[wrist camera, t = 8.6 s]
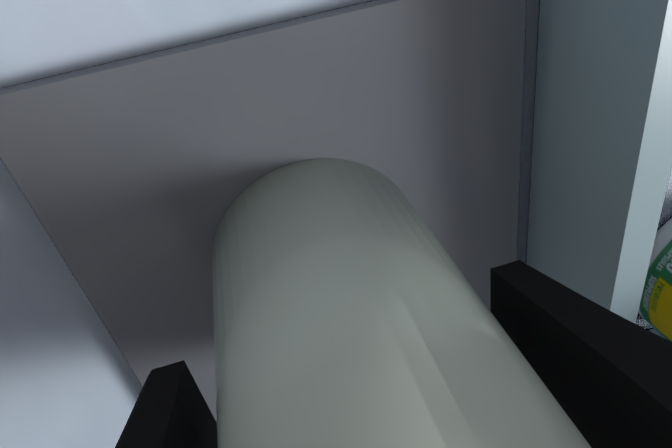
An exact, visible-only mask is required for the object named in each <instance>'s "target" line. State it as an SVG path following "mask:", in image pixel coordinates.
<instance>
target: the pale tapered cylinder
mask: <svg viewBox="0 0 672 448" xmlns="http://www.w3.org/2000/svg"><path fill="white" fill-rule="evenodd" d="M212 279H213V313H214V346H215V380H216V413H217V447H218V448H591V446H590V445H589V444H588V442H587V441H586V439H585V438H584V437H583V435H582V434H581V433H580V431H579V430H578V429H577V427H576V426H575V425H574V423H573V422H572V421H571V419H570V418H569V417H568V415H567V414H566V413H565V411H564V410H563V408H562V407H561V406H560V404H559V403H558V402H557V400H556V399H555V398H554V396H553V395H552V394H551V392H550V391H549V390H548V388H547V387H546V386H545V384H544V383H543V381H542V380H541V379H540V377H539V376H538V375H537V373H536V372H535V371H534V369H533V368H532V367H531V365H530V364H529V363H528V361H527V360H526V359H525V357H524V356H523V355H522V353H521V352H520V350H519V349H518V348H517V346H516V345H515V344H514V342H513V341H512V340H511V338H510V337H509V336H508V334H507V333H506V332H505V330H504V329H503V328H502V326H501V325H500V323H499V322H498V321H497V319H496V318H495V317H494V315H493V314H492V313H491V311H490V310H489V309H488V307H487V306H486V305H485V303H484V302H483V301H482V299H481V298H480V297H479V295H478V294H477V292H476V291H475V290H474V288H473V287H472V286H471V284H470V283H469V282H468V280H467V279H466V278H465V276H464V275H463V274H462V272H461V271H460V270H459V268H458V267H457V265H456V264H455V263H454V261H453V260H452V259H451V257H450V256H449V255H448V253H447V252H446V251H445V249H444V248H443V247H442V245H441V244H440V243H439V241H438V240H437V238H436V237H435V236H434V234H433V233H432V232H431V230H430V229H429V228H428V226H427V225H426V224H425V222H424V221H423V220H422V218H421V217H420V216H419V214H418V213H417V212H416V210H415V209H414V207H413V206H412V205H411V203H410V202H409V201H408V199H407V198H406V197H405V195H404V194H403V193H402V191H401V190H400V189H399V187H398V186H397V185H396V184H395V183H394V182H392V181H391V180H390V179H389V178H388V177H386V176H385V175H384V174H382V173H381V172H379V171H377V170H375V169H373V168H371V167H369V166H367V165H364V164H361V163H358V162H355V161H349V160H344V159H333V158H321V159H310V160H305V161H300V162H295V163H292V164H289V165H286V166H283V167H281V168H278V169H276V170H274V171H272V172H270V173H268V174H266V175H264V176H263V177H261V178H259V179H258V180H256V181H255V182H254V183H252V184H251V185H250V186H249V187H247V188H246V189H245V190H244V191H243V192H242V193H241V194H240V195H239V196H238V197H237V198H236V199H235V200H234V201H233V202H232V204H231V205H230V206H229V208H228V209H227V210H226V212H225V214H224V216H223V217H222V219H221V221H220V223H219V225H218V228H217V231H216V233H215V237H214V242H213V247H212Z"/></svg>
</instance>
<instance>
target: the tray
mask: <svg viewBox="0 0 672 448" xmlns="http://www.w3.org/2000/svg"><path fill="white" fill-rule="evenodd" d="M671 168H672V0H540V15H539V34H538V53H537V71H536V90H535V109H534V128H533V147H532V166H531V185H530V204H529V223H528V242H527V261H526V264H527V265H529V266H531V267H533V268H534V269H536V270H538V271H540V272H541V273H543V274H545V275H547V276H548V277H550V278H552V279H554V280H556V281H557V282H559V283H561V284H563V285H564V286H566V287H568V288H570V289H572V290H573V291H575V292H577V293H579V294H580V295H582V296H584V297H586V298H588V299H589V300H591V301H593V302H595V303H597V304H599V305H600V306H602V307H604V308H606V309H608V310H610V311H612V312H614V313H615V314H617V315H619V316H621V317H623V318H625V319H627V320H629V321H631V322H633V323H636V319H637V314H638V310H639V306H640V301H641V297H642V293H643V288H644V284H645V280H646V276H647V271H648V267H649V263H650V258H651V254H652V250H653V245H654V241H655V237H656V233H657V228H658V224H659V220H660V215H661V211H662V207H663V203H664V198H665V194H666V190H667V185H668V181H669V177H670V172H671ZM648 331H650V332H652V333H654V334H656V335H658V336H660V337H663V336H662V335H661V334H660V333H659V332H658V331H657V330H655V329H654V328H653V329H650V330H648ZM663 338H664V337H663Z"/></svg>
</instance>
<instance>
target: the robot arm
mask: <svg viewBox="0 0 672 448" xmlns="http://www.w3.org/2000/svg"><path fill="white" fill-rule="evenodd" d="M490 311H491V313H492V314H493V315H494V317H495V318H496V319H497V321H498V322H499V323H500V325H501V326H502V328H503V329H504V330H505V332H506V333H507V334H508V336H509V337H510V338H511V340H512V341H513V342H514V344H515V345H516V346H517V348H518V349H519V350H520V352H521V353H522V355H523V356H524V357H525V359H526V360H527V361H528V363H529V364H530V365H531V367H532V368H533V369H534V371H535V372H536V373H537V375H538V376H539V377H540V379H541V380H542V381H543V383H544V384H545V386H546V387H547V388H548V390H549V391H550V392H551V394H552V395H553V396H554V398H555V399H556V400H557V402H558V403H559V404H560V406H561V407H562V408H563V410H564V411H565V413H566V414H567V415H568V417H569V418H570V419H571V421H572V422H573V423H574V425H575V426H576V427H577V429H578V430H579V431H580V433H581V434H582V435H583V437H584V438H585V439H586V441H587V442H588V444H589V445H590V446H591V448H672V342H671V341H669V340H667V339H665V338H663V337H660V336H658V335H656V334H654V333H652V332H650V331H648V330H646V329H644V328H642V327H640V326H638V325H636V324H635V323H633V322H631V321H629V320H627V319H625V318H623V317H621V316H619V315H617V314H615V313H614V312H612V311H610V310H608V309H606V308H604V307H602V306H600V305H599V304H597V303H595V302H593V301H591V300H589V299H588V298H586V297H584V296H582V295H580V294H579V293H577V292H575V291H573V290H572V289H570V288H568V287H566V286H564V285H563V284H561V283H559V282H557V281H556V280H554V279H552V278H550V277H548V276H547V275H545V274H543V273H541V272H540V271H538V270H536V269H534V268H533V267H531V266H529V265H527V264H525V263H523V262H522V261H520V260H517V261H514V262H511V263H507V264H504V265H501V266H497V267H494V268H491V269H490ZM115 448H218V447H217V422H216V420H215V419H214V417H213V415H212V413H211V411H210V409H209V407H208V405H207V403H206V401H205V399H204V397H203V396H202V394H201V392H200V390H199V388H198V386H197V384H196V382H195V380H194V378H193V376H192V374H191V373H190V371H189V369H188V367H187V365H186V363H185V361H184V360H183V361H179V362H176V363H173V364H169V365H166V366H163V367H159V368H156V369H152V370H151V372H150V373H149V375H148V377H147V379H146V381H145V383H144V386H143V388H142V390H141V392H140V395H139V397H138V399H137V401H136V403H135V406H134V408H133V410H132V412H131V415H130V417H129V419H128V421H127V423H126V425H125V428H124V430H123V432H122V434H121V436H120V438H119V440H118V443H117V445H116V447H115Z"/></svg>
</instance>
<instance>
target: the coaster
mask: <svg viewBox="0 0 672 448" xmlns="http://www.w3.org/2000/svg"><path fill="white" fill-rule="evenodd" d="M526 1H527V0H373V1H369V2H365V3H361V4H356V5H352V6H348V7H344V8H340V9H335V10H331V11H327V12H323V13H318V14H314V15H310V16H306V17H302V18H297V19H293V20H289V21H285V22H280V23H276V24H272V25H268V26H263V27H259V28H255V29H251V30H247V31H242V32H238V33H234V34H230V35H225V36H221V37H217V38H213V39H209V40H204V41H200V42H196V43H192V44H187V45H183V46H179V47H175V48H170V49H166V50H162V51H158V52H154V53H149V54H145V55H141V56H137V57H132V58H128V59H124V60H120V61H116V62H111V63H107V64H103V65H99V66H94V67H90V68H86V69H82V70H77V71H73V72H69V73H65V74H61V75H56V76H52V77H48V78H44V79H39V80H35V81H31V82H27V83H23V84H18V85H14V86H10V87H6V88H1V89H0V158H1V159H2V161H3V163H4V164H5V166H6V167H7V169H8V171H9V172H10V174H11V175H12V177H13V179H14V180H15V182H16V183H17V185H18V187H19V188H20V190H21V192H22V193H23V195H24V196H25V198H26V200H27V201H28V203H29V204H30V206H31V208H32V209H33V211H34V212H35V214H36V216H37V217H38V219H39V221H40V222H41V224H42V225H43V227H44V229H45V230H46V232H47V233H48V235H49V237H50V238H51V240H52V242H53V243H54V245H55V246H56V248H57V250H58V251H59V253H60V254H61V256H62V258H63V259H64V261H65V262H66V264H67V266H68V267H69V269H70V271H71V272H72V274H73V275H74V277H75V279H76V280H77V282H78V283H79V285H80V287H81V288H82V290H83V291H84V293H85V295H86V296H87V298H88V300H89V301H90V303H91V304H92V306H93V308H94V309H95V311H96V312H97V314H98V316H99V317H100V319H101V320H102V322H103V324H104V325H105V327H106V329H107V330H108V332H109V333H110V335H111V337H112V338H113V340H114V341H115V343H116V345H117V346H118V348H119V350H120V351H121V353H122V354H123V356H124V358H125V359H126V361H127V362H128V364H129V366H130V367H131V369H132V370H133V372H134V374H135V375H136V377H137V379H138V380H139V382H140V383H141V385H142V387H143V386H144V383H145V381H146V379H147V377H148V375H149V373H150V372H151V370H152V369H156V368H159V367H163V366H166V365H169V364H173V363H176V362H179V361H183V360H184V361H185V363H186V365H187V367H188V369H189V371H190V373H191V374H192V376H193V378H194V380H195V382H196V384H197V386H198V388H199V390H200V392H201V394H202V396H203V397H204V399H205V401H206V403H207V405H208V407H209V409H210V411H211V413H212V415H213V417H214V419H215V420H216V422H217V413H216V380H215V346H214V313H213V279H212V247H213V242H214V237H215V233H216V231H217V228H218V225H219V223H220V221H221V219H222V217H223V216H224V214H225V212H226V210H227V209H228V208H229V206H230V205H231V204H232V202H233V201H234V200H235V199H236V198H237V197H238V196H239V195H240V194H241V193H242V192H243V191H244V190H245V189H246V188H247V187H249V186H250V185H251V184H252V183H254V182H255V181H256V180H258V179H259V178H261V177H263V176H264V175H266V174H268V173H270V172H272V171H274V170H276V169H278V168H281V167H283V166H286V165H289V164H292V163H295V162H300V161H305V160H310V159H321V158H333V159H344V160H349V161H355V162H358V163H361V164H364V165H367V166H369V167H371V168H373V169H375V170H377V171H379V172H381V173H382V174H384V175H385V176H386V177H388V178H389V179H390V180H391V181H392V182H394V183H395V184H396V185H397V186H398V187H399V189H400V190H401V191H402V193H403V194H404V195H405V197H406V198H407V199H408V201H409V202H410V203H411V205H412V206H413V207H414V209H415V210H416V212H417V213H418V214H419V216H420V217H421V218H422V220H423V221H424V222H425V224H426V225H427V226H428V228H429V229H430V230H431V232H432V233H433V234H434V236H435V237H436V238H437V240H438V241H439V243H440V244H441V245H442V247H443V248H444V249H445V251H446V252H447V253H448V255H449V256H450V257H451V259H452V260H453V261H454V263H455V264H456V265H457V267H458V268H459V270H460V271H461V272H462V274H463V275H464V276H465V278H466V279H467V280H468V282H469V283H470V284H471V286H472V287H473V288H474V290H475V291H476V292H477V294H478V295H479V297H480V298H481V299H482V301H483V302H484V303H485V305H486V306H487V307H488V309H489V310H490V269H491V268H494V267H497V266H501V265H504V264H507V263H511V262H514V261H517V235H518V209H519V183H520V157H521V131H522V105H523V79H524V53H525V27H526Z"/></svg>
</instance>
